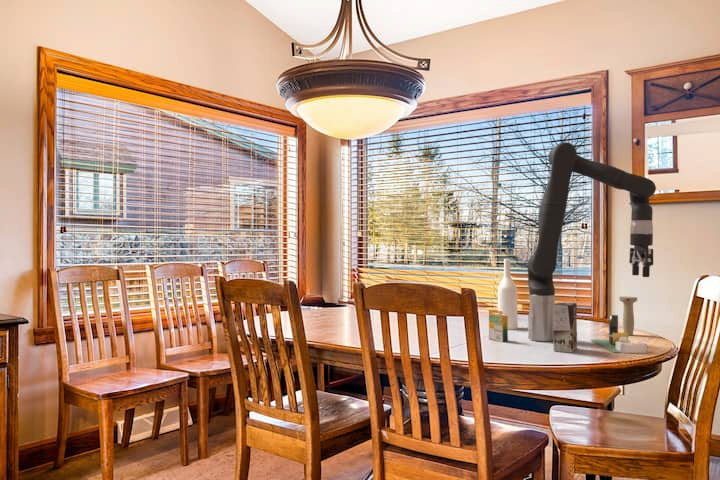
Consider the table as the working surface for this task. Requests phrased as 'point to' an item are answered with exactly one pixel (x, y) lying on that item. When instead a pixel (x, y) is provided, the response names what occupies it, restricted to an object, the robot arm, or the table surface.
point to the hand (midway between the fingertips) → (640, 276)
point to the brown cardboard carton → (611, 340)
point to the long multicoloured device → (615, 329)
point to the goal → (631, 347)
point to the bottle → (508, 297)
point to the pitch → (607, 345)
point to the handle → (628, 314)
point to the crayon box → (498, 326)
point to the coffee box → (565, 327)
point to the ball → (624, 340)
